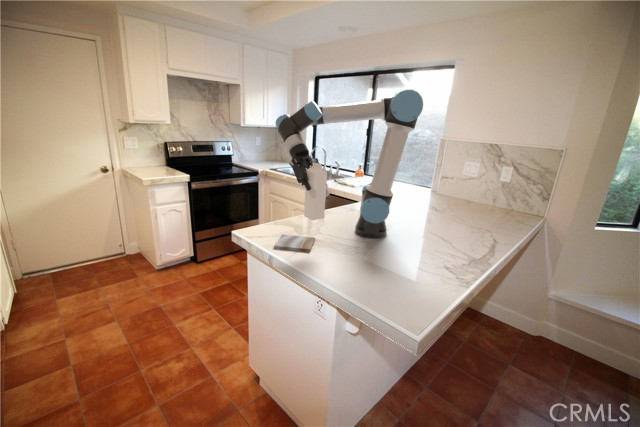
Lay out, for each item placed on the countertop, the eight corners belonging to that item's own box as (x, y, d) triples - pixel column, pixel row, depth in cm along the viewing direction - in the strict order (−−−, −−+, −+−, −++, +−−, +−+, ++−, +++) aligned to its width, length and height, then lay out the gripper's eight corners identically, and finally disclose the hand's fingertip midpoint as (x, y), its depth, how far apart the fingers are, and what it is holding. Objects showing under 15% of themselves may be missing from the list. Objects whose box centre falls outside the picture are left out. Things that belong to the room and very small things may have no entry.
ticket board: (314, 240, 135) (315, 237, 134) (310, 252, 122) (310, 249, 122) (282, 236, 136) (282, 234, 136) (274, 248, 124) (274, 245, 124)
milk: (312, 220, 119) (315, 164, 112) (303, 216, 124) (306, 162, 117) (324, 218, 123) (328, 164, 116) (315, 214, 127) (318, 161, 120)
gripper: (310, 153, 133) (333, 197, 127) (273, 154, 120) (297, 203, 114) (319, 142, 128) (344, 187, 121) (281, 142, 115) (307, 193, 109)
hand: (321, 195), depth 118 cm, fingers closed on milk, 6 cm apart
